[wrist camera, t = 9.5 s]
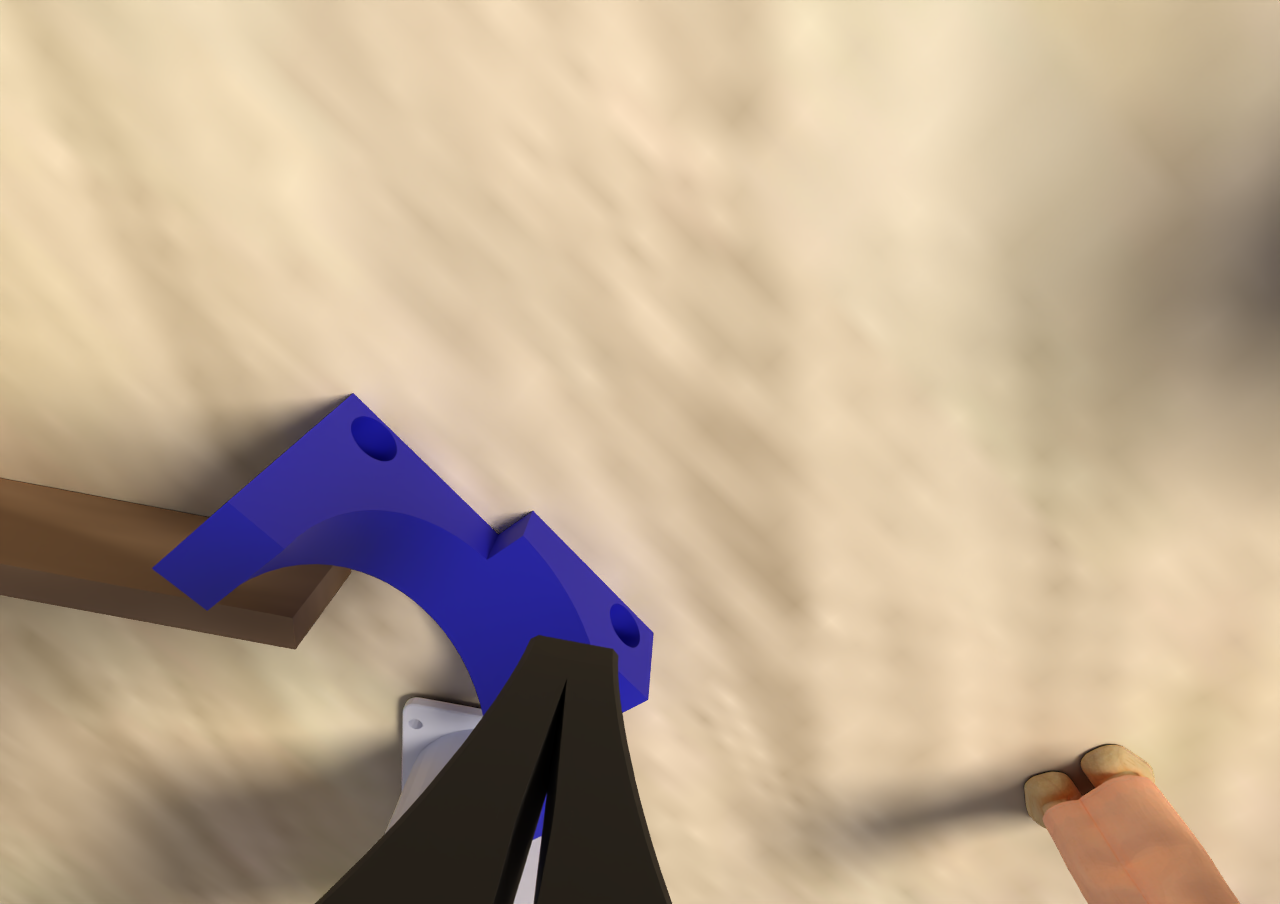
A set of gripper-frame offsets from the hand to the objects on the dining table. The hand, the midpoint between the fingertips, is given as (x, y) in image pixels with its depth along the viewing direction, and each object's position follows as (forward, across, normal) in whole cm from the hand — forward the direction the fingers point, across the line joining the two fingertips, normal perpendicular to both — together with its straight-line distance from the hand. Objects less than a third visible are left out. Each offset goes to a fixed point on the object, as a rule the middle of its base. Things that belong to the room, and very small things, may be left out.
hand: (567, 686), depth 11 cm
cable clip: (+10, +4, +5) cm, 11 cm away
